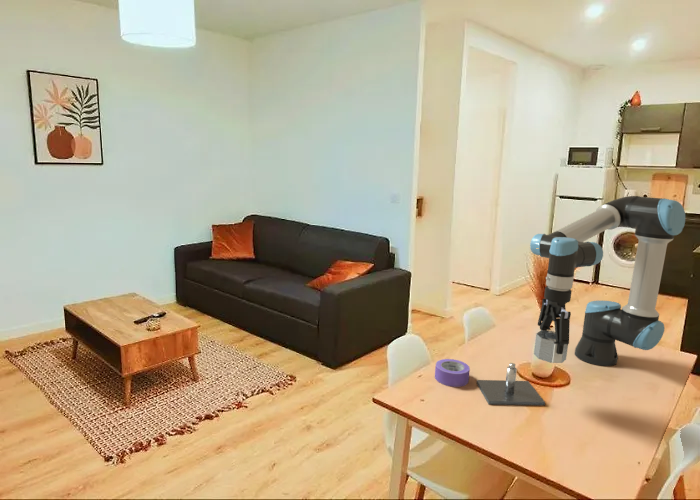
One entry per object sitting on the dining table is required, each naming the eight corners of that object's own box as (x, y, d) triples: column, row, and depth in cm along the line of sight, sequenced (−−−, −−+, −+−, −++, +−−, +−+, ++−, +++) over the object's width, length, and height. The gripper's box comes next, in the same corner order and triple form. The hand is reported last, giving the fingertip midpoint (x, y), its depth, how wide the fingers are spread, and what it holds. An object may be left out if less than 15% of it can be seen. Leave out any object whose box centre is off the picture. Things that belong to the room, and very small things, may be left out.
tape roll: (457, 369, 173) (458, 357, 172) (475, 384, 162) (476, 371, 161) (428, 373, 169) (429, 360, 168) (445, 389, 159) (446, 375, 158)
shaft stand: (527, 384, 163) (531, 355, 161) (544, 405, 150) (548, 374, 147) (476, 383, 163) (479, 354, 161) (488, 404, 149) (491, 373, 147)
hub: (556, 351, 154) (559, 330, 152) (570, 362, 145) (573, 341, 144) (530, 350, 153) (532, 330, 152) (542, 362, 145) (545, 341, 143)
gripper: (531, 278, 155) (524, 342, 160) (563, 298, 134) (553, 371, 139) (554, 278, 155) (545, 342, 160) (589, 298, 134) (578, 371, 139)
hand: (549, 355), depth 149 cm, fingers closed on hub, 9 cm apart
